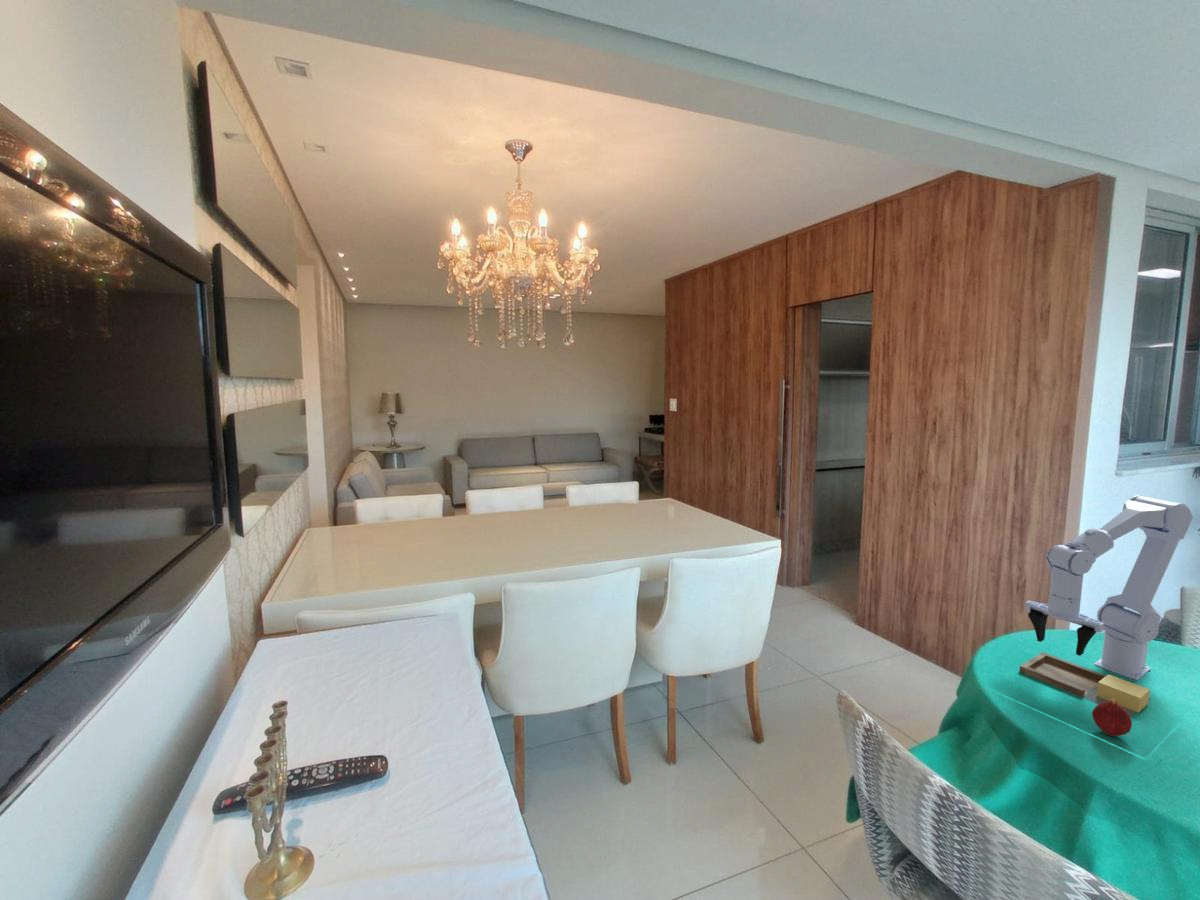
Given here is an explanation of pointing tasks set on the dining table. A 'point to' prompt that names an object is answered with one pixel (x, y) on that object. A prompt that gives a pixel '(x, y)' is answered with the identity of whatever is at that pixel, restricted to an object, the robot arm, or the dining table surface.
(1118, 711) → the onion
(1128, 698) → the block
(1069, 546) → the robot arm
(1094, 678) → the brown wooden tray
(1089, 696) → the mat
